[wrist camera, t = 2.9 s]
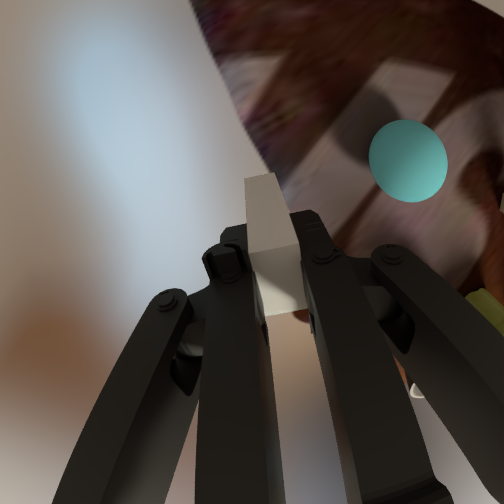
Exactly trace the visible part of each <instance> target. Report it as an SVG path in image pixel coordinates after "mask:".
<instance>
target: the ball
mask: <svg viewBox="0 0 504 504" xmlns="http://www.w3.org/2000/svg"><path fill="white" fill-rule="evenodd" d="M369 165H370V169H371V172H372V175H373V177H374V179H375V181H376V182H377V184H378V185H379V186H380V188H381V189H382V190H383V191H384V192H386V193H387V194H388V195H390V196H391V197H393V198H395V199H397V200H400V201H405V202H419V201H423V200H425V199H428V198H430V197H431V196H433V195H434V194H435V193H436V192H437V191H438V190H439V189H440V187H441V186H442V184H443V182H444V180H445V177H446V173H447V166H448V164H447V155H446V151H445V148H444V146H443V144H442V142H441V140H440V139H439V138H438V136H437V135H436V134H435V133H434V132H433V131H432V130H431V129H430V128H428V127H427V126H425V125H424V124H422V123H420V122H417V121H413V120H405V119H404V120H396V121H393V122H390V123H388V124H386V125H385V126H383V127H382V128H381V129H380V130H379V131H378V132H377V133H376V135H375V136H374V138H373V140H372V143H371V145H370V150H369Z"/></svg>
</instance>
